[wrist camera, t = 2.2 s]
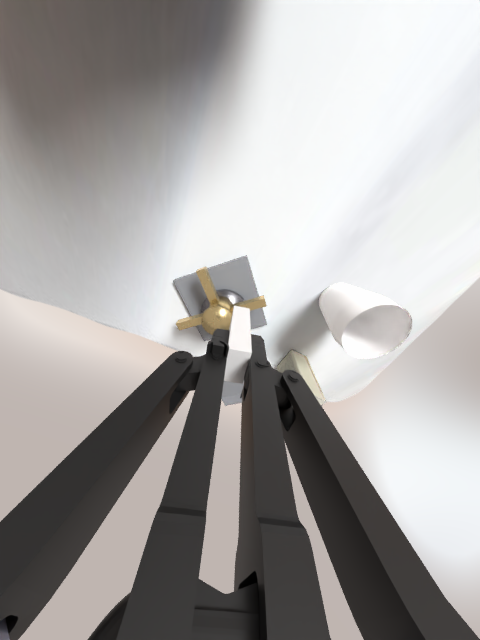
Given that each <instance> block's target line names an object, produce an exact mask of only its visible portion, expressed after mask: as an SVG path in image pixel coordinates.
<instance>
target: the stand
mask: <svg viewBox="0 0 480 640" xmlns="http://www.w3.org/2000/svg"><path fill="white" fill-rule="evenodd" d="M207 270H208V272H209V275H210V277H211V279H212V282H213V284H214V287H215V289H216V290H222V289H227V290H231V291H234V292H236V293H238V294H239V295H241V296H242V297H243V298H244V300H245V301H246V300H249V299H253V298H256V297H259V295H258V292H257V288H256V285H255V282H254V278H253V275H252V271H251V268H250V265H249V261H248V258H247V255H246V256H243V257H240V258H237V259H234V260H231V261H228V262H225V263H222V264H219V265H216V266H213V267H210V268H207ZM173 282H174V284H175V286H176V287H177V289H178V291H179V293H180V295H181V297H182V299H183V301H184V303H185V305H186V307H187V309H188V311H189V313H190V315H191V316H194V315H198V314H201V307H202V304H203V302H204V300H205V298H206V297H207V296H206V293H205V291H204V289H203V287H202V284H201V282H200V280H199V278H198V275H197V273H196V272H195V273H192V274H189V275H186V276H183V277H180V278H177V279H175V280H174V281H173ZM250 325H251V329H252V328H256V327H260V326H264V325H267V323H266V319H265V316H264V312H263V309H262V308H258V309H255V310H251V311H250ZM197 328H198V330H199V332H200V334H201V336H202V338H203V340H204V341H206V340H210V339H212V336H213V335H211V334H209V333H208V332H206V331H205V330H204V328H203V327H202V324H201V325H197ZM243 386H244V381H243V384H240V383H234V382H228V381H224V383H223V391H222V398H221V399H222V401H223V402H224V404H225V405H226V406H227V405H231V404H237V403H242V398H240V396H241V392H242V389H243Z"/></svg>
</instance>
